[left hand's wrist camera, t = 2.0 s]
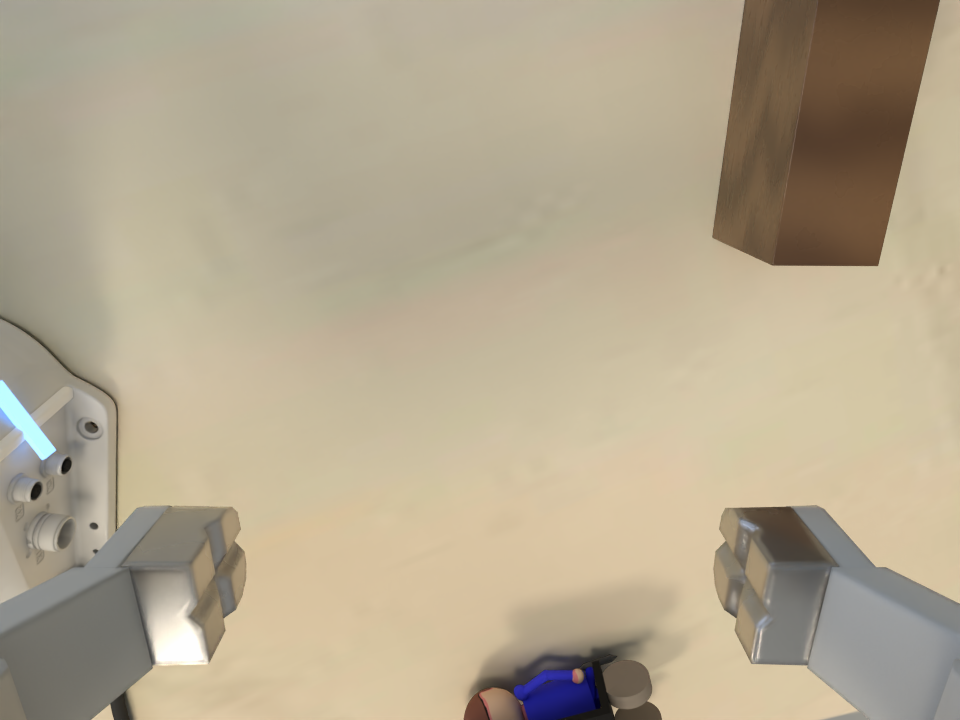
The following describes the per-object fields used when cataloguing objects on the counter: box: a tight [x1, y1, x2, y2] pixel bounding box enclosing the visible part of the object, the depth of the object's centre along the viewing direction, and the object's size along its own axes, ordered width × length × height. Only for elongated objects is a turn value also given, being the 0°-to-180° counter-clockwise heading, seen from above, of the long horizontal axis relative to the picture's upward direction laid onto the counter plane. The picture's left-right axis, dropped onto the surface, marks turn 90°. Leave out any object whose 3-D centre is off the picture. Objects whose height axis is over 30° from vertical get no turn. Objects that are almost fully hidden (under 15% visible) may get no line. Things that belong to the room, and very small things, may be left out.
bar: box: [713, 0, 940, 266], centre depth 32 cm, size 23×6×8 cm, turn 179°
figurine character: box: [464, 655, 662, 720], centre depth 49 cm, size 7×8×15 cm
